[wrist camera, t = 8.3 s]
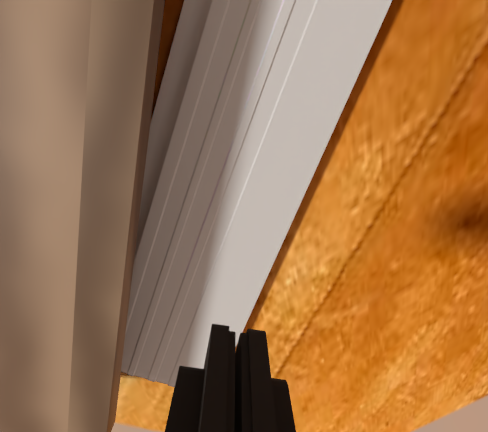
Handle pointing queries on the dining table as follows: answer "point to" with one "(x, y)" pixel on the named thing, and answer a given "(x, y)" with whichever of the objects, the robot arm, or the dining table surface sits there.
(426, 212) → the dining table surface
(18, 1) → the walnut rail
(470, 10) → the dining table surface
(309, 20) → the baseboard molding
